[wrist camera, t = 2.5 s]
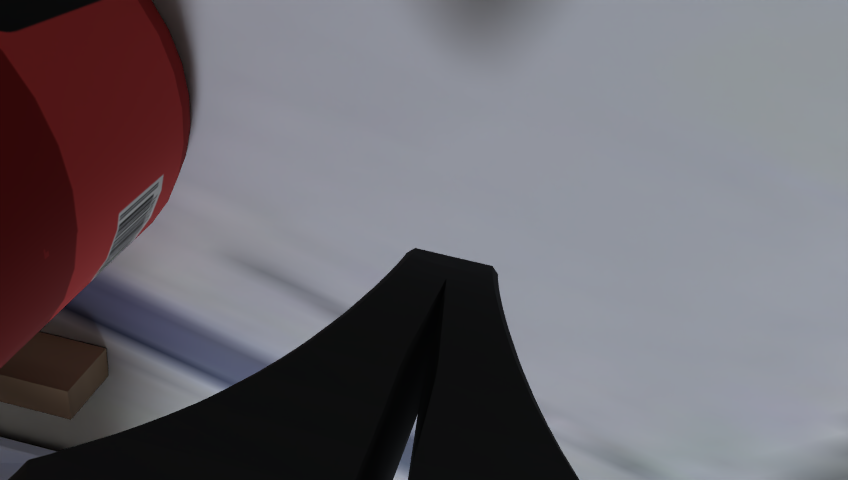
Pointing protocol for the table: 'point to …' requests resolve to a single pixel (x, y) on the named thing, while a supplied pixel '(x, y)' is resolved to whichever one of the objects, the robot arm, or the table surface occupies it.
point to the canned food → (80, 146)
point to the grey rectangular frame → (53, 375)
